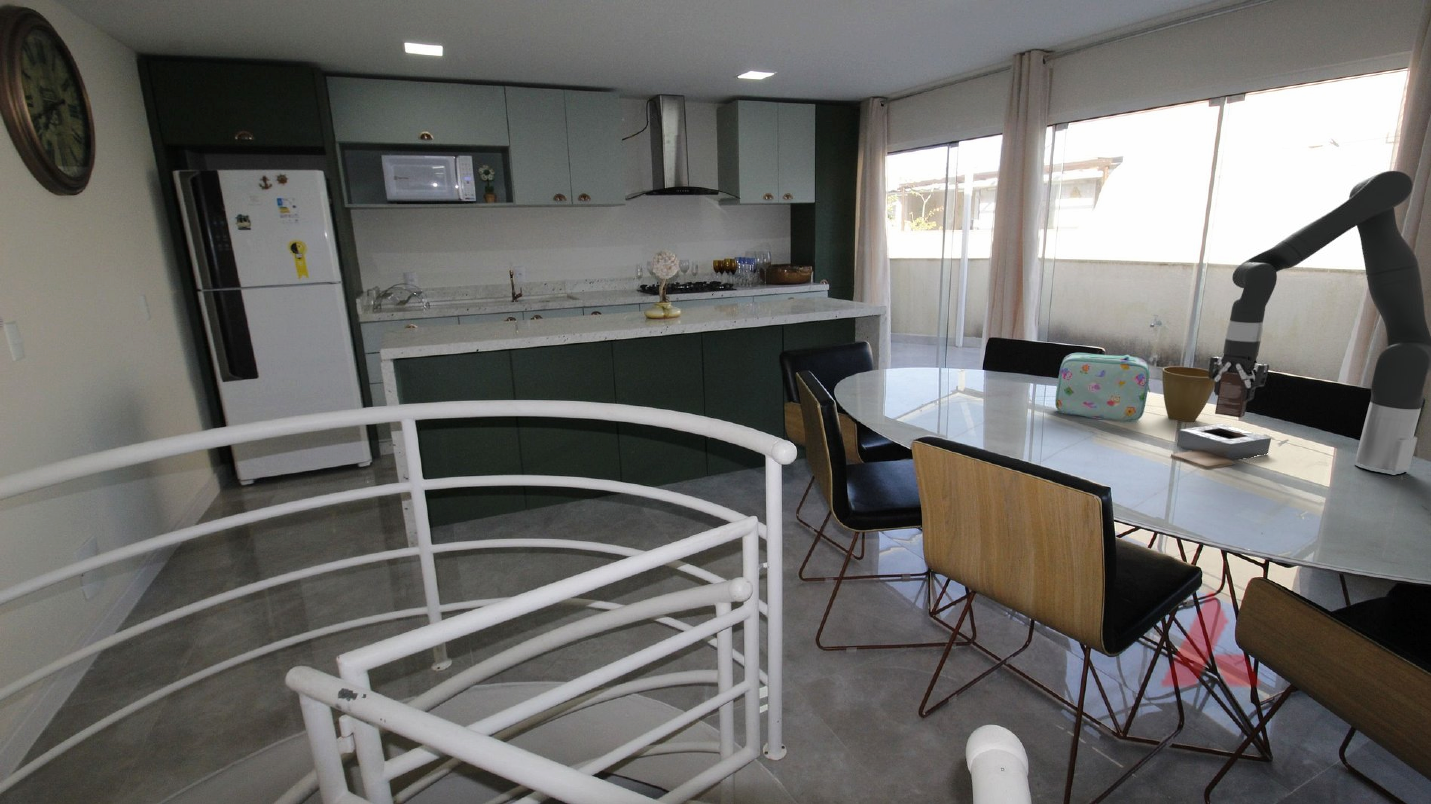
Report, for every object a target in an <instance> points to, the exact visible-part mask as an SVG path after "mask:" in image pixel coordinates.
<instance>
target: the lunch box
mask: <svg viewBox="0 0 1431 804" xmlns="http://www.w3.org/2000/svg"><path fill="white" fill-rule="evenodd" d="M1149 367H1150V366H1149V364H1148V363H1147V361H1145V360H1144V359H1142V358H1140V357H1137V356H1131V355H1130V354H1125V355H1113V354H1110V355H1109V354H1099V353H1098V354H1097V353H1088V352H1074V353H1070V354H1067V355H1065V357H1064V358H1063V359H1062V363H1061V364H1060V368H1059V374H1058V377H1057V385H1056V392H1055V403H1054V404H1055V408H1056V409H1057V410H1058V411H1059V412H1060V413H1062V414H1066V415H1073V416H1075V415H1076V416H1081V417H1082V416H1083V417H1087V418H1093V419H1097V420H1108V421H1109V420H1110V421H1118V422H1119V421H1120V422H1135V421H1136V422H1137V421H1139V419H1141V418H1142V417H1143V415H1144V412H1145V409H1146V408H1145V407H1146V404H1147V398H1148V393H1151V388H1150V385H1149V384H1150V369H1149Z"/></svg>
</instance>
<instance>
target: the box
mask: <svg viewBox="0 0 1431 804" xmlns="http://www.w3.org/2000/svg"><path fill="white" fill-rule="evenodd" d="M1246 375H1247V376H1250V374H1246ZM1245 388H1247V387H1246V385H1245V382H1244V381H1243V380H1242V378H1241V376H1240V374H1239V373H1233V372H1224V371H1223V372H1222V374H1221V380H1220V387H1219V393H1218V395H1217V400H1216V405H1215V411H1214V414H1215V415H1220V416H1227V417H1232V418H1233V417H1234V418H1238V419H1239V418H1240V419H1241V418H1243V417H1244V416H1245V414H1246V409H1247V403H1248V401H1243V397H1244V391H1245Z"/></svg>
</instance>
